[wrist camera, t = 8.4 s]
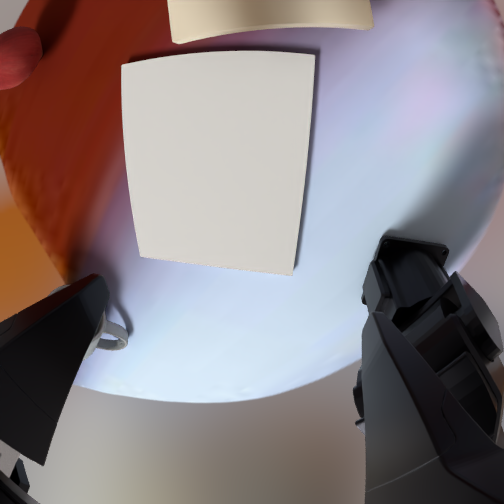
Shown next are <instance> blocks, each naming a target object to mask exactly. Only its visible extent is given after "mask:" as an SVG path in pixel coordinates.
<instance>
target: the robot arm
mask: <svg viewBox="0 0 504 504" xmlns="http://www.w3.org/2000/svg"><path fill="white" fill-rule="evenodd" d="M385 242H388V244H386V245H384V243H385ZM444 250H445V251H444ZM442 251H444V252H443V253H442ZM448 254H449V249H448V248H447V246H446V245H442V244H436V243H430V242H423V241H417V240H410V239H404V238H397V237H390V236H384V237H382V238H381V239H380V241H379V245H378V248H377V251H376V255H375V258H374V260H373V261H372V262H371V263H370V265H369V268H368V271H367V275H366V278H365V281H364V284H363V294H362V297H361V300H362V303H363V304H364V305H367V308H368V312H369V316H368V319H367V321H366V323H365V326H364V328H363V331H362V365H361V367H360V369H359V371H358V377H357V385H356V386H355V387H354V388H353V396H354V402H355V405H356V408H357V411H358V413H359V416H360V417H361V419H359V420H357V421H356V422H355V424H356V426H357V427H358V428H359V429H360V431H362V433H363V434H364V435H365V441H366V486H365V487H366V488H365V491H366V492H365V504H504V432H503V429H502V426H501V422H502V416H503V409H504V366H503V364H502V362H501V360H500V358H499V355H500V354H501V353H502V352H503V345H502V339H501V334H500V330H499V326H498V322H497V320H496V318H495V317H494V315H493V314H492V312H491V310H490V309H489V307H488V306H487V304H486V303H485V301H484V300H483V299H482V297H481V296H480V295H479V294H478V293H477V292H476V291H475V290H474V289H473V288H472V287H471V286H470V285H469V284H468V283H467V282H466V281H465V280H464V279H463V278H462V277H461V276H460V275H459V274H458V273H457V272H456V271H455V272H454V273H453V274H452V275H451V276H450V277H449V275H448V274H447V272H446V270H445V269H444V267H443V266H444V264H445V261H446V259H447V256H448ZM109 296H110V294H109V290H108V287H107V284H106V281H105V278H104V276H103V275H100V274H95V273H94V274H91V275H89V276H87V277H85V278H83V279H81V280H79V281H77V282H75V283H73V284H71V285H69V286H67V287H65V288H63V289H61V290H59V291H57V292H55V293H53V294H52V295H50V296H48V297H46V298H44V299H42V300H40V301H39V302H37V303H35V304H33V305H31V306H30V307H27V308H26V309H24V310H22V311H20V312H19V313H18V314H15V315H13V316H11V317H10V318H8V319H6V320H4V321H2V322H0V504H40V503H38V502H37V501H36V500H34V499H33V498H32V497H31V496H29V495H28V494H27V493H28V490H29V487H30V485H29V482H28V478H27V475H26V472H25V468H24V464H23V461H22V460H21V459H20V458H19V455H20V453H21V454H22V455H24V456H26V457H27V458H29V459H30V460H32V461H34V462H36V463H37V464H39V465H41V466H44V464H45V461H46V457H47V454H48V450H49V447H50V444H51V441H52V438H53V435H54V432H55V429H56V426H57V422H58V420H59V417H60V414H61V412H62V409H63V406H64V404H65V401H66V399H67V396H68V394H69V391H70V388H71V386H72V384H73V381H74V379H75V377H76V374H77V372H78V370H79V368H80V365H81V363H82V361H83V359H84V356H85V354H86V352H87V350H88V348H89V346H90V344H91V342H92V340H93V337H94V335H95V333H96V331H97V328H98V325H99V323H100V320H101V318H102V315H103V313H104V310H105V308H106V305H107V303H108V300H109ZM365 299H366V300H365Z"/></svg>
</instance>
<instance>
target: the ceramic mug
mask: <svg viewBox="0 0 504 504" xmlns="http://www.w3.org/2000/svg"><path fill="white" fill-rule="evenodd" d="M69 285H71V284H69ZM69 285H63V286H60V287H58V288H56V289H55V290H53V291H52V292H51V293H50V294H49V295H48V296H50V295H52V294H53V293H55V292H57V291H59V290H61V289H63V288H65V287H67V286H69ZM48 296H47V297H48ZM102 333H108V334H110V335H113V336H116V337H118V338H120V339H118V340H108V339H102V338H100V337H101V335H102ZM127 344H128V332H127V331H126V330H125V329H124V328H123V327H122V326H120V325H118V324H116V323H113V322H110V321H107V320H106V314H105V310H104V313H103V315H102V318H101V320H100V323H99V325H98V328H97V331H96V333H95V335H94V337H93V340H92V342H91V344H90V346H89V348H88V350H87V352H86V354H85V356H84V359H83V360H85V359H87V358H88V357H89V356H90V355H91V354H92V353H93V352H94V350H95V348H99V349H104V350H111V351H114V350H121V349H123V348H125V347H126V346H127Z"/></svg>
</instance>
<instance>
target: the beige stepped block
mask: <svg viewBox="0 0 504 504" xmlns="http://www.w3.org/2000/svg"><path fill="white" fill-rule="evenodd" d="M168 9H169V18H170V26H171V34H172V42H174V43H177V44H182V43H186V42H190V41H194V40H199V39H203V38H208V37H213V36H219V35H224V34H231V33H237V32H244V31H253V30H262V29H274V28H292V27H331V28H348V29H360V30H370V29H372V28H373V27H374V22H373V16H372V11H371V6H370V1H369V0H168Z"/></svg>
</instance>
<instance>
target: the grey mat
mask: <svg viewBox="0 0 504 504" xmlns="http://www.w3.org/2000/svg"><path fill="white" fill-rule="evenodd" d="M314 67H315V55H310V54H301V53H290V52H273V51H220V52H204V53H192V54H183V55H174V56H167V57H160V58H154V59H149V60H143V61H138V62H133V63H128V64H124V65H122V118H123V135H124V148H125V159H126V168H127V177H128V185H129V193H130V200H131V207H132V213H133V219H134V225H135V231H136V236H137V242H138V247H139V252H140V257H146V258H153V259H161V260H168V261H175V262H183V263H190V264H198V265H206V266H213V267H221V268H229V269H238V270H246V271H254V272H262V273H271V274H280V275H288V276H292V274H293V268H294V261H295V254H296V247H297V240H298V232H299V225H300V217H301V209H302V201H303V193H304V184H305V175H306V166H307V156H308V146H309V135H310V123H311V111H312V98H313V83H314Z"/></svg>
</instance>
